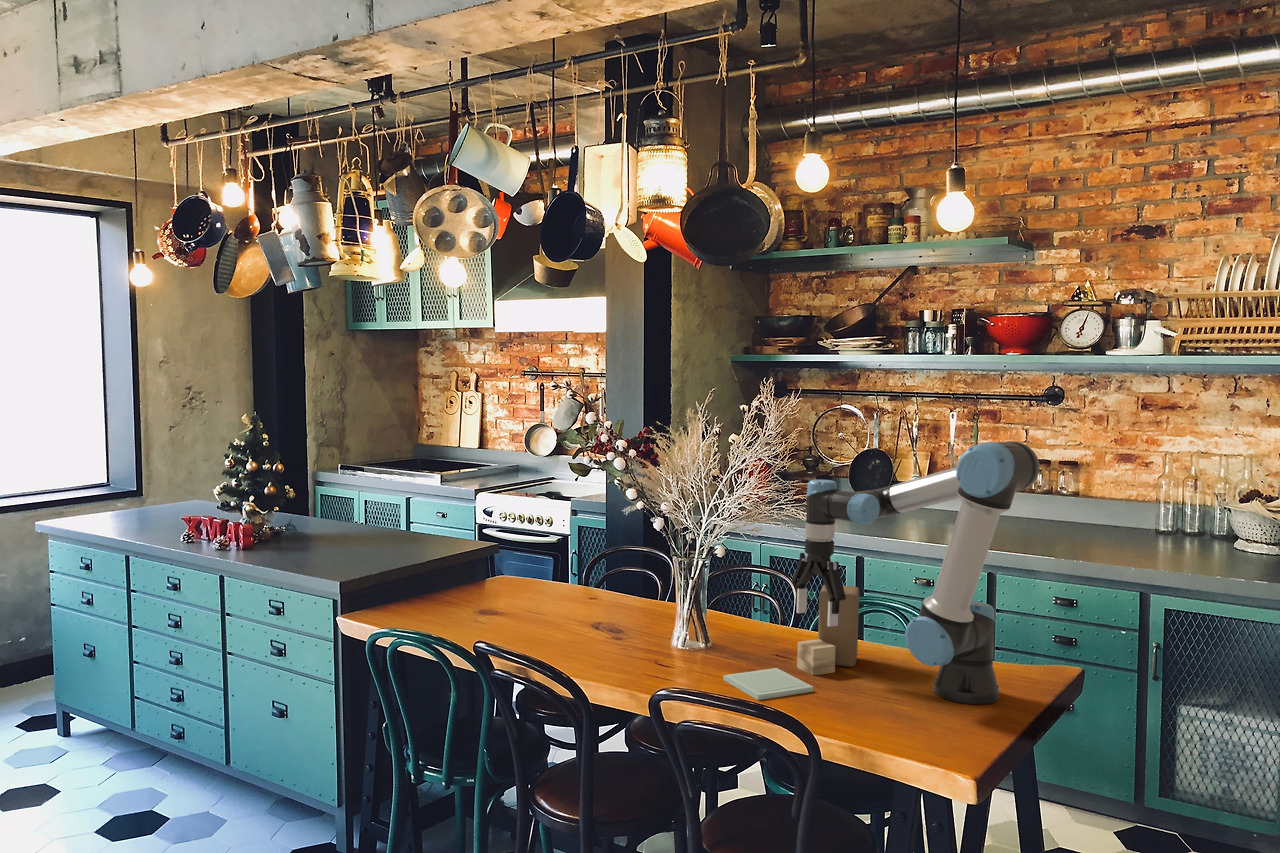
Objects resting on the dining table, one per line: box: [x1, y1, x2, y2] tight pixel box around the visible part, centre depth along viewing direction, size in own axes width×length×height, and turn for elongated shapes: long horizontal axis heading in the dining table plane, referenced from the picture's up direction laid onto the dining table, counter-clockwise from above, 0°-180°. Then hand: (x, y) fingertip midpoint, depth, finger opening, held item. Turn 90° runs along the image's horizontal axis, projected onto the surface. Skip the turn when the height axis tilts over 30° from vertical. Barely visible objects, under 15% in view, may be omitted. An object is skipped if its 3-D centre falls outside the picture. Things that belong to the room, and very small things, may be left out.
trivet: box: [722, 667, 814, 701], centre depth 234 cm, size 16×16×1 cm
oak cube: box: [796, 638, 836, 676], centre depth 247 cm, size 7×7×7 cm
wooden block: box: [817, 584, 860, 668], centre depth 255 cm, size 10×10×20 cm
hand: (816, 619), depth 247 cm, fingers open, 13 cm apart
